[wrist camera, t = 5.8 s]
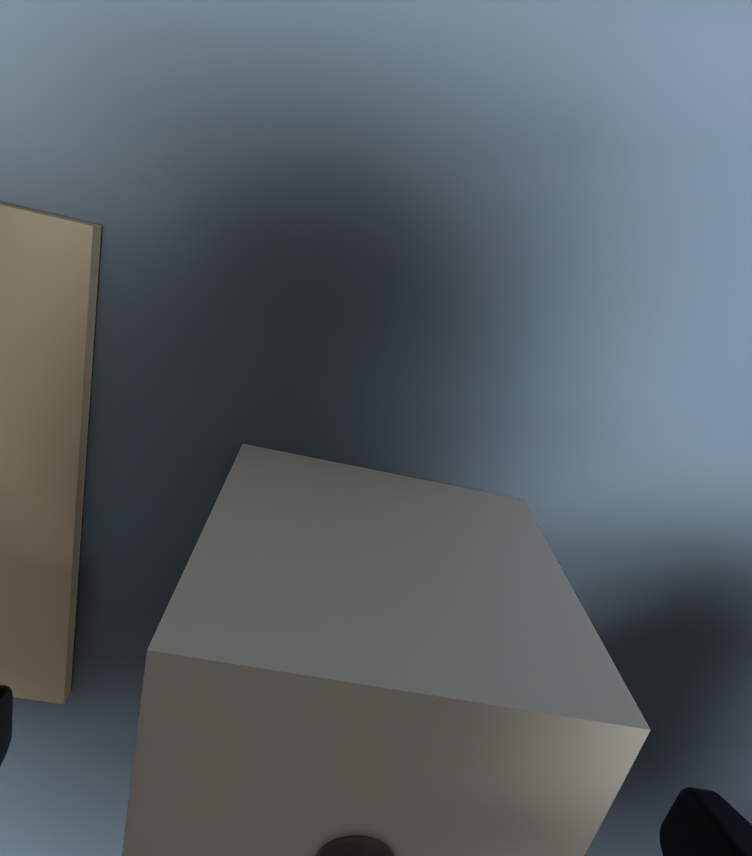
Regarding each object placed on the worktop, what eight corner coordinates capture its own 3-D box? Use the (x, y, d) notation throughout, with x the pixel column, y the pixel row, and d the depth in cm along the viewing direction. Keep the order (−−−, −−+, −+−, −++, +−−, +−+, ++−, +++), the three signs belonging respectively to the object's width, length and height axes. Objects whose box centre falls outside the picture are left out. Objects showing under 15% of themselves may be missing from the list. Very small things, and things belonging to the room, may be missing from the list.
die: (522, 497, 11) (653, 736, 6) (447, 707, 12) (502, 1021, 8) (239, 440, 10) (136, 655, 5) (202, 668, 12) (99, 981, 7)
